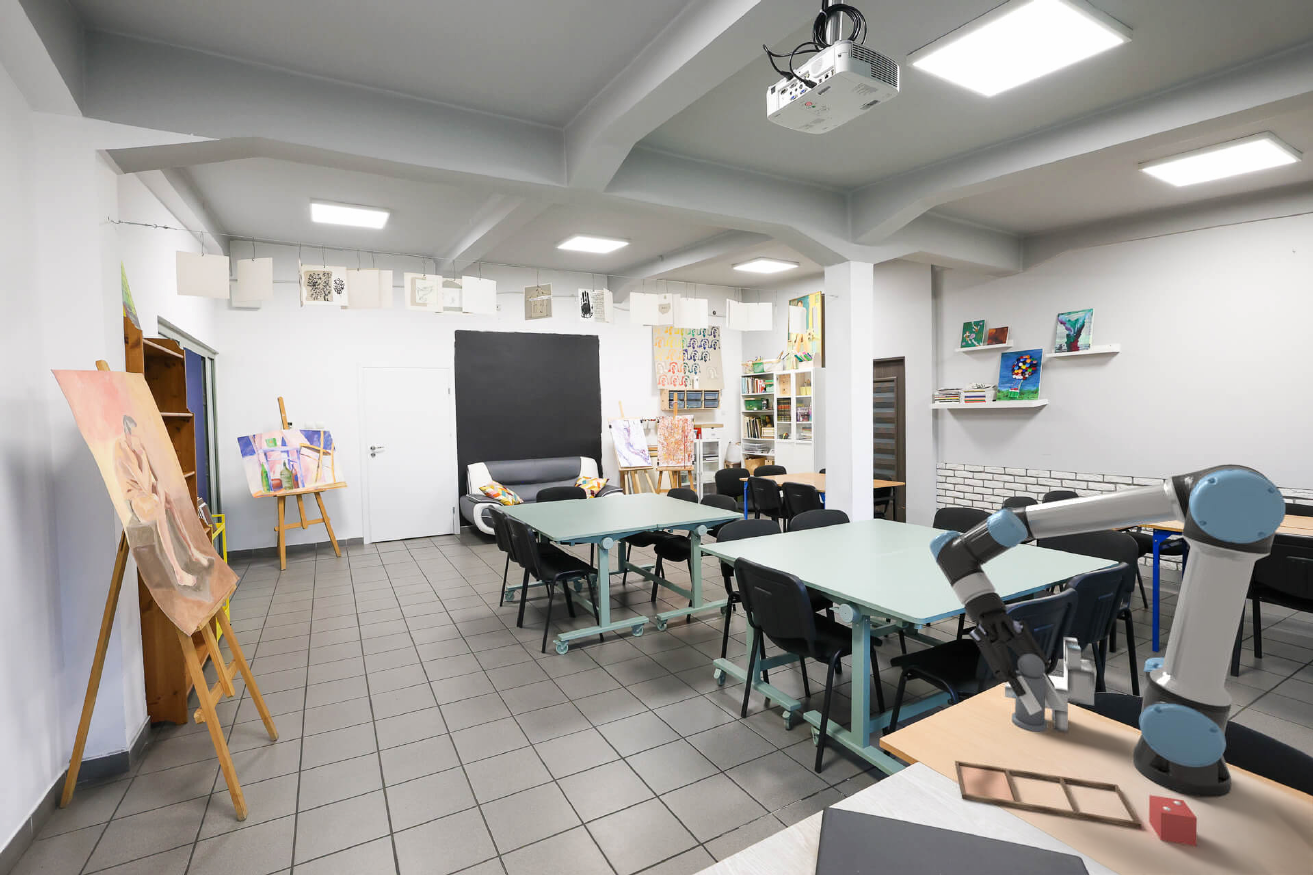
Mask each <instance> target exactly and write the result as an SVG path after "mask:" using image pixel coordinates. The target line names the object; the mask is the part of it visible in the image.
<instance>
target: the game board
mask: <svg viewBox="0 0 1313 875" xmlns="http://www.w3.org/2000/svg"><path fill="white" fill-rule="evenodd" d="M954 766H955V771H956V774H957V780H958V783H959V784H958V785H959V789H960V795H961V798H962V799H963V800H964V799H965V800H968V801H969V800H970V801H975V802H981V803H988V804H993V805H999V806H1006V807H1012V808H1015V809H1016V808H1017V809H1024V810H1030V811H1035V812H1036V811H1037V812H1042V813H1046V814H1047V813H1048V814H1054V815H1059V816H1065V817H1072V818H1078V819H1083V820H1089V821H1095V822H1101V823H1106V824H1113V825H1120V826H1124V827H1131V828H1137V829H1142V823H1141V821H1140V819H1139V817H1138V816H1137V815H1136V813H1135V810H1133V808H1132V806H1131V805H1130V803H1129V801H1128V800H1127V798H1126V797H1125V795H1124V793H1123V792H1122V790H1121V789H1120V786H1119V785H1118V784H1115V783H1109V782H1101V781H1094V780H1087V779H1082V778H1081V779H1080V778H1074V777H1068V776H1061V775H1054V774H1053V775H1052V774H1049V773H1048V774H1047V773H1041V772H1034V771H1028V770H1027V771H1026V770H1020V769H1015V768H1014V769H1013V768H1008V767H1000V766H995V765H994V766H993V765H988V764H979V763H974V762H973V763H972V762H968V761H967V762H965V761H960V760H954ZM1011 775H1014V776H1020V777H1025V778H1026V777H1027V778H1033V779H1041V780H1045V781H1046V780H1048V781H1052V782H1053V781H1054V782H1059V783H1060V786H1061V788H1062V790H1063V792H1064V794H1065V796H1066V799H1067V800H1068V803H1069V805H1070V807H1071V809H1072V810H1070V809H1063V808H1057V807H1051V806H1046V805H1045V806H1044V805H1038V804H1033V803H1027V802H1021V801H1020V799H1019V796H1018V793H1017V790H1016V787H1015V785H1014V782H1013V779H1012V776H1011ZM1066 783H1067V784H1072V785H1073V784H1074V785H1080V786H1086V787H1092V788H1099V789H1106V790H1114V791H1115V793H1116V794H1117V796H1118V798H1119V800H1120V801H1121V803H1122V804H1123V806H1124V808H1125V810H1126V812H1127V813H1128V815H1129V816H1130V818H1131V819H1132V820H1131V819H1124V818H1118V817H1113V816H1112V817H1111V816H1105V815H1100V814H1096V813H1095V814H1093V813H1088V812H1081V811H1079V808H1078V806H1077V805H1076V802H1075V800H1074V798H1073V796H1072V794H1071V792H1070V790H1069V788H1068V786H1067V784H1066Z"/></svg>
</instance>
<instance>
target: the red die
mask: <svg viewBox="0 0 1313 875" xmlns="http://www.w3.org/2000/svg"><path fill="white" fill-rule="evenodd" d="M1148 800H1149V802H1148V804H1149V807H1148V809H1149V810H1148V811H1149V813H1148V814H1149V815H1148V816H1149V817H1148V821H1149V824H1150V825H1151V827H1152V828H1153V830H1154V831H1155V834H1156V835H1157V836H1158V838H1159V839H1160V841H1163V842H1164V841H1165V842H1171V843H1175V844H1181V845H1188V846H1193V847H1197V840H1198V838H1197V836H1198V835H1197V833H1198V831H1197V828H1198V827H1197V826H1198V820H1197V819H1198V818H1197V816H1196V815H1195V814H1194V812H1193V811H1192V809H1191V808H1190V807H1189V805H1188V804H1187V803H1186V802H1185V801H1184V799H1176V798H1171V797H1165V796H1159V795H1158V796H1157V795H1151V794H1149V798H1148Z"/></svg>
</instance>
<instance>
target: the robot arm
mask: <svg viewBox="0 0 1313 875" xmlns="http://www.w3.org/2000/svg"><path fill="white" fill-rule="evenodd" d="M1282 494H1283V493H1282V492H1281V491H1280V489H1278V486H1276V485H1275V484H1274V483H1273V482H1272V480H1270V479H1269V478H1268V477H1266V476H1265V475H1264V474H1263V473H1262V472H1260V471H1258V470H1256V469H1254V468H1252V467H1249V466H1245V465H1241V464H1232V463H1231V464H1230V463H1229V464H1220V465H1216V466H1215V465H1214V466H1212V467H1211V466H1210V467H1209V468H1204V469H1202V470H1198V471H1197V470H1196V471H1193V472H1189V473H1184V474H1183V473H1182V474H1178V475H1173V476H1169V477H1168V478H1167V480H1165V481H1164V482H1163V483H1157V484H1150V485H1145V486H1138V487H1132V488H1127V489H1121V490H1115V491H1114V490H1113V491H1109V492H1102V493H1098V494H1097V493H1096V494H1090V495H1085V496H1080V497H1073V498H1067V499H1060V500H1057V501H1050V502H1044V503H1037V504H1033V505H1032V504H1031V505H1026V506H1021V507H1020V506H1019V507H1004V508H1001V509H998V510H996V511H995V512H994V513H993V514H991V515H989V516H988V517H987V518H986V519H984V520H982V521H981V522H979V523H978V524H976V525H975V526H973V527H972V528H971V529H969V530H967V531H966V532H964V533H962V534H961V533H960V532H958V531H956V530H949V531H944V533H942V534H938V535H937V536H936V537H934V538H932V540H931V542H930V543H929V550H930V552H931V553H932V555H933V557H934V561H935V563H936V565H937V566H938V567H939V568H940V570H941V572H942V573H943V575H944V576H945V578H946V580H947V582H948V583H949V584H950V587H951V588H952V590H953V592H954V593H955V596H956V597H957V599H958V600H959V602H960V604H961V605H962V606H963V605H964V607H963V609H964V611H965V613H966V615H967V616H968V617H969V620H970V621H971V622H972V623H973V624H975V625H976V627H975V628H974V629H973V630H972V631H970V632H968V636H969V637H970V638H971V639H972V641H973V642H974V643H975V644H976V646H977V647H978V649H979V651H980V652H981V654H982V656H983V658H984V660H985V662H986V663H987V665H988V667H989V669H990V670H991V672H992V673H993V675H994V677H995V679H996V680H1001V681H1002V682H1003V683H1004V684H1005V683H1009V684H1010V686H1011V687H1012V689H1013V691H1014V693H1015V694H1016V695H1017V696H1018V697H1020V699H1021V701H1022V702H1023V704H1024V706H1025V707H1026V709H1027V711H1028V712H1029V714H1030V715H1033V714H1035V713H1037V712H1039V711H1041V710H1042V708H1041V707H1040V705H1039V703H1038V702H1037V700H1036V698H1035V697H1034V695H1033V693H1032V692H1031V690H1030V688H1029V687H1028V685H1027V683H1026V682H1025V680H1024V678H1023V677H1022V676H1018V677H1016V676H1017V673H1016V671H1017V670H1016V668H1015V665H1014V663H1013V660H1012V657H1011V656H1010V653H1009V650H1008V648H1007V647H1010V648H1011V649H1012V650H1013V652H1015V654H1016V655H1017V656H1018V657H1019V658H1020V657H1021V656H1022V655H1024V654H1034V655H1036V656H1038V657H1039V658H1040V659H1041V660H1042V661H1043V663H1044V665H1045V671H1044V674H1043V675H1044V676H1045V677H1046V691H1045V699H1046V701H1047V702H1048V704H1049V706H1050V707H1051V709H1050V710H1051V711H1052V710H1055V709H1057V708H1059V707H1061V706H1063V705H1065V704H1064V703H1063V701H1062V700H1061V698H1060V696H1059V695H1058V693H1057V692H1056V690H1055V689H1054V688H1055V686H1054V684H1053V682H1052V681H1051V679H1050V678H1049V676H1048V673H1047V670H1049V667H1051V662H1050V661H1049V658H1047V656H1046V655H1045V653H1044V651H1043V650H1042V649H1041V646H1039V644H1038V643H1037V641H1036V639H1035V638H1034V636H1033V635H1032V633H1031V632H1030V630H1029V627H1028V623H1027V622H1026V621H1025V620H1024V619H1022V620H1020V621H1016V620H1013V619H1012V617H1011V616H1010V615H1008V613H1007V606H1006V604H1005V602H1004V601H1003V599H1002V598H1001V596H1000V595H999V593H998V592H996V588H995V586H994V585H993V583H992V581H991V580H990V579H989V577H988V575H987V574H986V573H985V572H986V571H984V569H983V567H982V566H983V565H985V564H987V563H988V562H989V561H991V560H993V559H995V558H997V557H998V556H1000V555H1002V554H1004V553H1005V552H1007V551H1008V550H1010V549H1013V548H1015V547H1017V546H1018V545H1019V544H1020V543H1021V542H1024V541H1031V540H1032V541H1033V540H1036V539H1037V540H1038V539H1044V538H1052V537H1053V538H1054V537H1058V536H1059V537H1060V536H1067V535H1068V536H1069V535H1074V534H1076V535H1077V534H1082V533H1083V534H1084V533H1089V532H1098V531H1105V530H1112V529H1120V528H1127V527H1136V526H1137V527H1138V526H1143V525H1149V524H1157V523H1158V524H1159V523H1165V522H1175V521H1177V522H1180V523H1182V524H1183V529H1182V534H1181V537H1182V538H1183V539H1184V541H1185V542H1187V544H1188V545H1189V547H1190V548H1189V552H1188V556H1187V560H1186V565H1185V569H1184V573H1183V578H1182V581H1181V582H1182V583H1181V586H1180V589H1179V590H1180V591H1179V595H1178V598H1177V604H1176V608H1175V612H1174V616H1173V622H1172V624H1171V628H1170V633H1169V637H1168V642H1167V646H1166V651H1165V655H1164V657H1150V658H1147V660H1145V663H1144V664H1145V665H1144V668H1143V673H1144V688H1143V697H1142V704H1141V705H1142V706H1141V713H1140V715H1139V716H1138V717H1139V718H1138V725H1139V729H1140V732H1141V735H1140V736H1139V738H1138V741H1137V743H1136V746H1135V748H1134V749H1133V764H1134V767H1135V768H1136V770H1137V771H1139V773H1141V774H1142V775H1143V776H1145V777H1146V778H1147V779H1149V780H1150V781H1153V782H1154V783H1157V784H1158V785H1161V786H1164V787H1165V788H1168V789H1171V790H1172V791H1173V790H1174V791H1176V792H1179V793H1183V794H1186V795H1187V794H1188V795H1191V796H1197V797H1205V798H1219V797H1222V796H1226V795H1227V794H1229V793H1230V792H1231V791H1232V777H1231V776H1232V775H1231V773H1230V771H1229V768H1228V766H1227V763H1226V760H1225V757H1224V752H1225V751H1226V748H1227V742H1226V736H1225V733H1226V729H1227V725H1228V720H1229V716H1230V712H1231V708H1232V704H1233V697H1232V696H1231V695H1230V694H1229V692H1228V691H1227V690H1226V689H1225V682H1226V678H1227V675H1228V670H1229V667H1230V662H1231V658H1232V655H1233V650H1234V648H1235V647H1234V646H1235V642H1236V639H1237V638H1236V637H1237V634H1238V632H1239V631H1238V630H1239V628H1240V623H1241V619H1242V614H1243V610H1244V607H1245V604H1246V603H1245V602H1246V599H1247V594H1248V592H1249V591H1248V590H1249V586H1250V582H1251V578H1252V574H1253V570H1254V566H1255V563H1256V561H1258V560H1261V559H1262V558H1266V557H1268V556H1270V554H1271V549H1272V546H1273V542H1274V538H1275V535H1276V532H1277V530H1278V529H1279V528H1280V527H1281V524H1282V523H1283V521H1284V520H1285V516H1286V502H1285V499H1284V496H1283V495H1282Z"/></svg>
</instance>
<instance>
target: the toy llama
mask: <svg viewBox="0 0 1313 875" xmlns="http://www.w3.org/2000/svg"><path fill="white" fill-rule="evenodd" d="M1078 642H1079V641H1078V639H1077V638H1076V637H1068V636H1063V677H1062V676H1058V675H1057V676H1056V675H1048V676H1049V678H1050V679H1051V681H1052V682H1053V684H1054V686H1055V688H1054V689H1055V690H1056V692H1057V693H1058V695H1059V696H1060V698H1061V700H1062V701H1063V703H1064V704H1065V705H1063V706H1061V707H1059V708H1057V709H1055V710H1052V709H1051V707H1050V706H1049V704H1048V702H1047V701H1046V699H1045V709H1048V710H1051V719H1052V720H1051V721H1053V727H1054V731H1055V732H1060V733H1067V734H1068V732H1069V709H1068V708H1069V704H1068V703H1076V704H1081V705H1088V706H1089V705H1090V706H1095V672H1094V669H1093V666H1092V665H1091V662H1090V660H1087V659H1082V649H1081V647H1080V645H1079V643H1078ZM1004 696H1005V698H1007V699H1008V698H1010V699H1016V694H1015V693H1014V691H1013V689H1012V687H1011V686H1010V684H1009V682H1006V683H1005V682H1004Z"/></svg>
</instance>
